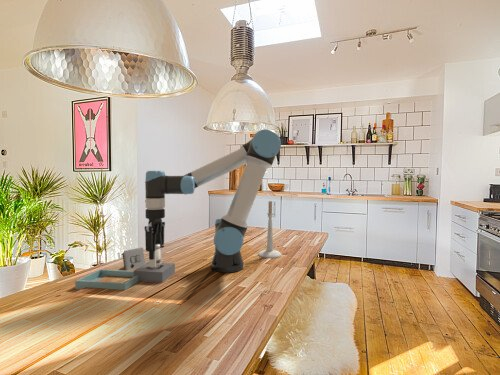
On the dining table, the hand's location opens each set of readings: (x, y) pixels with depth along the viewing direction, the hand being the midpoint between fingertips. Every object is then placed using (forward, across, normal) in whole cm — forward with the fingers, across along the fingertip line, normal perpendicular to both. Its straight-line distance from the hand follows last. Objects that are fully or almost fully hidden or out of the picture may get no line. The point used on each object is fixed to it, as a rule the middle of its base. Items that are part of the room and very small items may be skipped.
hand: (155, 265), depth 117 cm
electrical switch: (+6, -11, -16) cm, 20 cm away
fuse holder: (+6, 0, 0) cm, 6 cm away
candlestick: (+6, -46, +44) cm, 64 cm away
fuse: (+5, 0, 0) cm, 5 cm away
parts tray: (+6, +8, -14) cm, 17 cm away
